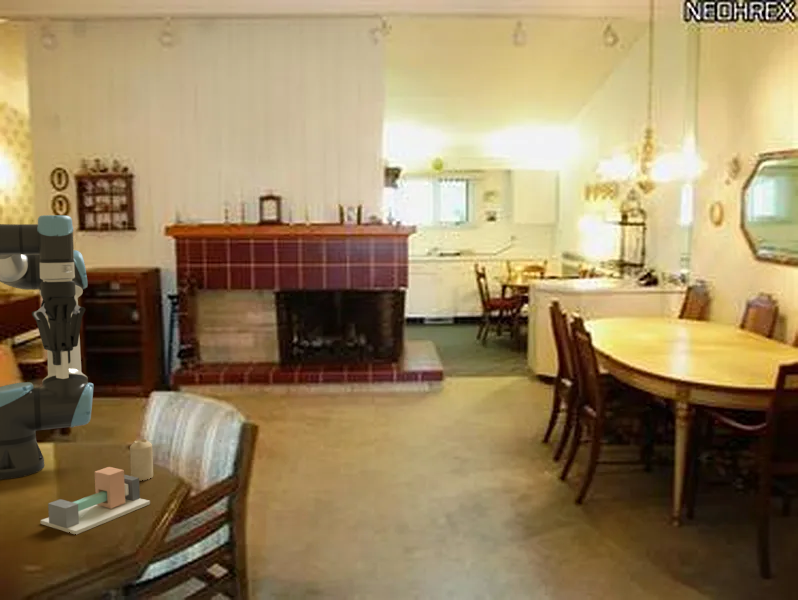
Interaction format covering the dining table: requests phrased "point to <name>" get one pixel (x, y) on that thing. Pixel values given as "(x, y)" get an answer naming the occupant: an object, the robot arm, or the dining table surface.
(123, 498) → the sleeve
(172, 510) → the dining table surface
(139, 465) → the candle
